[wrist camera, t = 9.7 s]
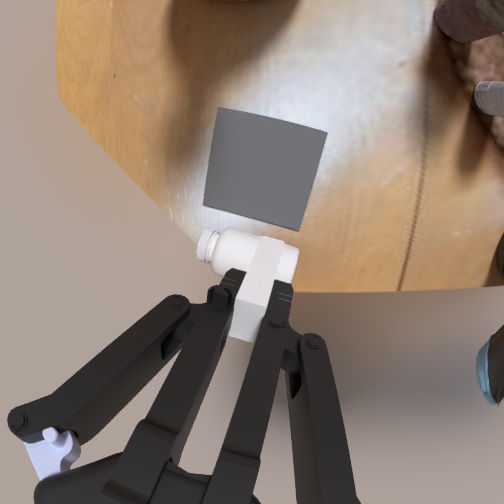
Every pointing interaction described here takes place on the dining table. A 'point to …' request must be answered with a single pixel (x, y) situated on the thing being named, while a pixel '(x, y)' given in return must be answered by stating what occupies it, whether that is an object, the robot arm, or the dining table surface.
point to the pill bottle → (240, 252)
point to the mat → (262, 167)
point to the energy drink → (490, 97)
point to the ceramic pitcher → (233, 1)
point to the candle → (470, 19)
